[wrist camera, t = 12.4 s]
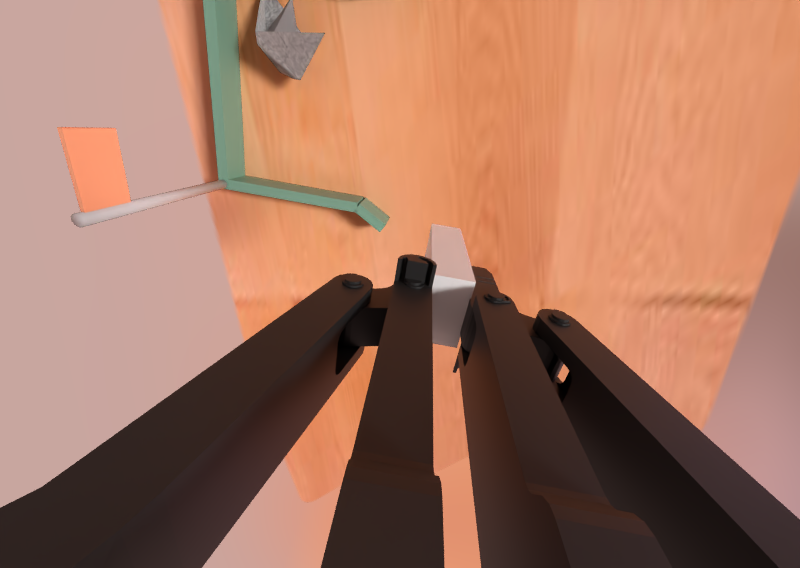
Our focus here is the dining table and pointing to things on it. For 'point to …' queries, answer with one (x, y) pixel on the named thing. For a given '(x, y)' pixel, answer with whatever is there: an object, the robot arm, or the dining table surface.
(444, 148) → the dining table surface
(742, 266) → the dining table surface
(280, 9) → the paper boat
